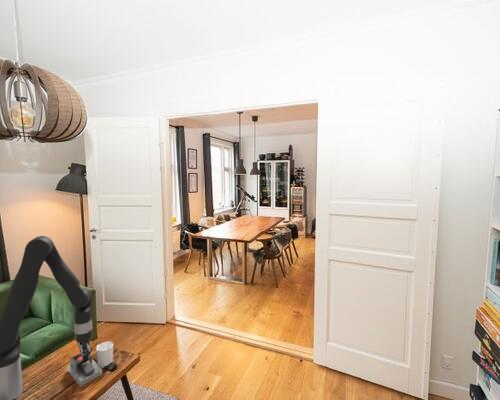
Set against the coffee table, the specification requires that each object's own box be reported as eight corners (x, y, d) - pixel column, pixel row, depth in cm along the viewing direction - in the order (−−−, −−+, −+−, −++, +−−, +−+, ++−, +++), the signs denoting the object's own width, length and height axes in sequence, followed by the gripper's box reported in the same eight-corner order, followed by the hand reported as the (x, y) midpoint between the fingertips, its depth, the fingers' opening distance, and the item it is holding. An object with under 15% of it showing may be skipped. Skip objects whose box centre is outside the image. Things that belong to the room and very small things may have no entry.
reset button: (78, 365, 134) (78, 362, 134) (74, 361, 136) (74, 359, 136) (87, 360, 137) (87, 358, 137) (84, 357, 140) (84, 354, 140)
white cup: (102, 370, 136) (101, 352, 135) (94, 364, 141) (93, 347, 140) (116, 361, 143) (116, 344, 142) (108, 356, 147) (107, 339, 146)
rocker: (86, 375, 129) (87, 373, 128) (81, 366, 133) (81, 363, 132) (94, 371, 131) (94, 368, 131) (88, 362, 135) (88, 359, 135)
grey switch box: (80, 386, 126) (79, 373, 125) (67, 371, 136) (67, 358, 135) (102, 374, 134) (101, 361, 133) (88, 360, 144) (88, 348, 143)
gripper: (70, 327, 133) (72, 359, 135) (80, 337, 125) (82, 371, 127) (86, 321, 139) (88, 351, 140) (97, 330, 131) (99, 362, 132)
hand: (85, 361), depth 133 cm, fingers closed
